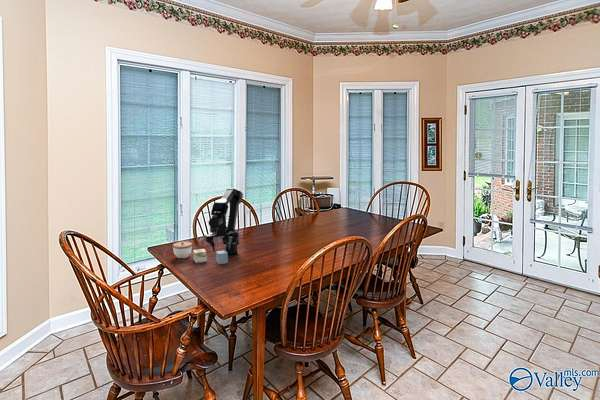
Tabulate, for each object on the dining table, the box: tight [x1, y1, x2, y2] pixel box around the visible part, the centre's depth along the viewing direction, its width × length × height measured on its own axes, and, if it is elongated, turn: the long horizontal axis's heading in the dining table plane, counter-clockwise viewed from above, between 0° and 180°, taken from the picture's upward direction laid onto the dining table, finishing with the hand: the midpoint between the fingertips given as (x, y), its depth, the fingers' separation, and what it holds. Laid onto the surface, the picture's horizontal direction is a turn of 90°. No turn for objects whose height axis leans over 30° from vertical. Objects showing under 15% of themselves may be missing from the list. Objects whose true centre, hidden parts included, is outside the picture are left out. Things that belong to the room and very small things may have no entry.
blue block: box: [215, 249, 229, 265], centre depth 204 cm, size 5×5×6 cm
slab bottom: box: [192, 254, 208, 264], centre depth 207 cm, size 6×6×3 cm
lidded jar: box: [172, 241, 193, 259], centre depth 212 cm, size 11×11×9 cm
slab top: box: [192, 248, 207, 258], centre depth 206 cm, size 6×6×3 cm
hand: (221, 250), depth 204 cm, fingers open, 9 cm apart
